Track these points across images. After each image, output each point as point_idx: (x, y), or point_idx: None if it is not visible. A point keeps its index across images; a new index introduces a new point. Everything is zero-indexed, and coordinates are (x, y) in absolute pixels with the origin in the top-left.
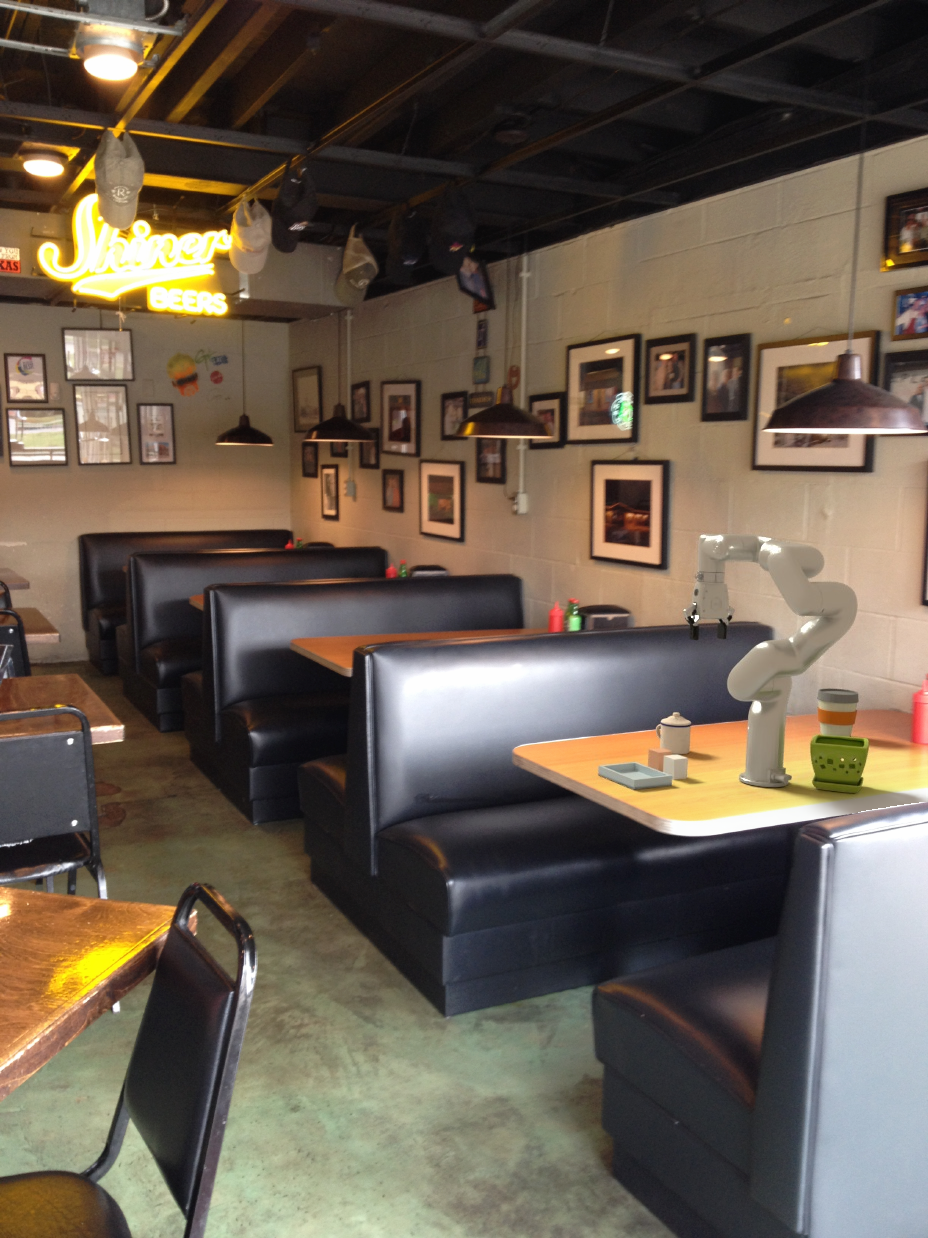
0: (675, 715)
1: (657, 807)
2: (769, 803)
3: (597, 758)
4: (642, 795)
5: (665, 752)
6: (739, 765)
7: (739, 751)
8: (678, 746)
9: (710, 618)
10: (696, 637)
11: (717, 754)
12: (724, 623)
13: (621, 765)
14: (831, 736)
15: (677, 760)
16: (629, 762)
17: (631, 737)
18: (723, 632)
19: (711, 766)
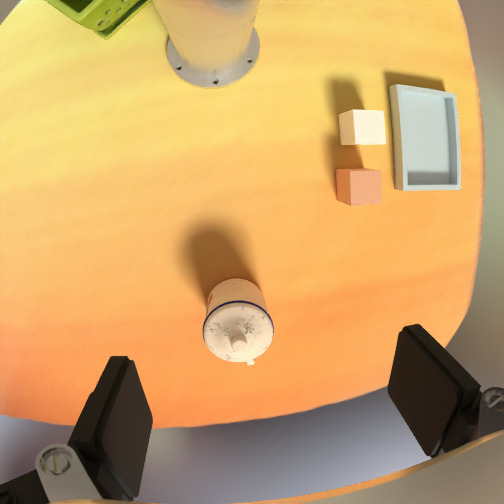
0: (245, 338)
1: (448, 23)
2: None
3: (396, 287)
4: (446, 70)
5: (365, 170)
6: (173, 169)
7: (109, 273)
8: (246, 285)
9: (420, 467)
10: (424, 335)
11: (163, 262)
12: (87, 471)
13: (428, 184)
14: (64, 3)
15: (375, 110)
16: (413, 190)
17: (250, 403)
18: (121, 399)
19: (236, 176)
